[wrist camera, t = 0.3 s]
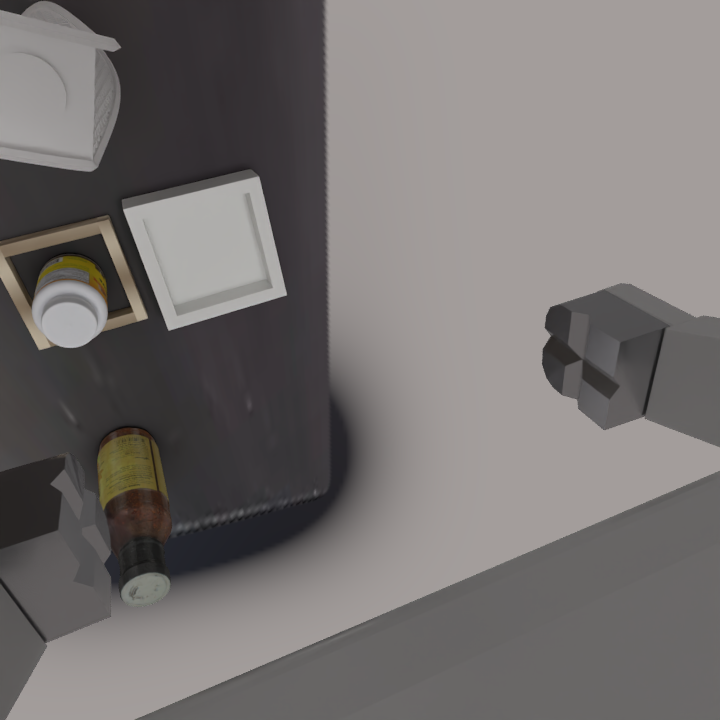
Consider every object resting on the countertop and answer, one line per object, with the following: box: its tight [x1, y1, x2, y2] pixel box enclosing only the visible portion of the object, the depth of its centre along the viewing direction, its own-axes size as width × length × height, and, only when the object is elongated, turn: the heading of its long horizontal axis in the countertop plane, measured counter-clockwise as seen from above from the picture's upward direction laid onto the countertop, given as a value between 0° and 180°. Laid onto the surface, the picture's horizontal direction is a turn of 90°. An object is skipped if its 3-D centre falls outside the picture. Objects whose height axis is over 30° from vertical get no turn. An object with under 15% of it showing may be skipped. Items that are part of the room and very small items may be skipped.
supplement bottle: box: [32, 254, 108, 348], centre depth 48 cm, size 6×6×10 cm
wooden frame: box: [0, 215, 148, 350], centre depth 51 cm, size 10×10×2 cm
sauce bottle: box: [97, 427, 172, 607], centre depth 55 cm, size 7×6×20 cm
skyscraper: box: [0, 1, 121, 172], centre depth 33 cm, size 8×8×28 cm
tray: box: [122, 169, 287, 330], centre depth 54 cm, size 12×12×4 cm
